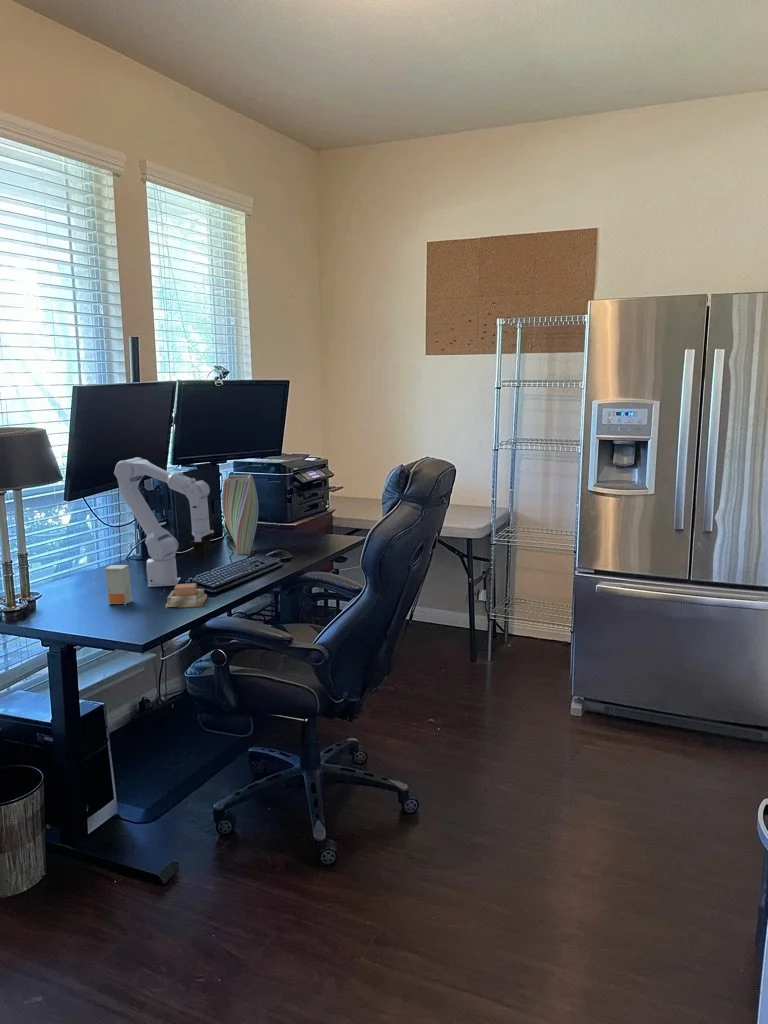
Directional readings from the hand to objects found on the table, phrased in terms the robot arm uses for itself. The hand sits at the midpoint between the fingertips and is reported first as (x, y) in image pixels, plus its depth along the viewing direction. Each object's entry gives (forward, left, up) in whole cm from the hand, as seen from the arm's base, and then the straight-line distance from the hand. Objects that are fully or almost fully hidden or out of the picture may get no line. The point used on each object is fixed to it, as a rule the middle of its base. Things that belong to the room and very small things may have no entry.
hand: (203, 558), depth 248 cm
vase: (+8, +42, -10) cm, 44 cm away
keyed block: (-3, -18, -8) cm, 20 cm away
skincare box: (-24, -15, -10) cm, 30 cm away
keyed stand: (-3, -18, -9) cm, 21 cm away
